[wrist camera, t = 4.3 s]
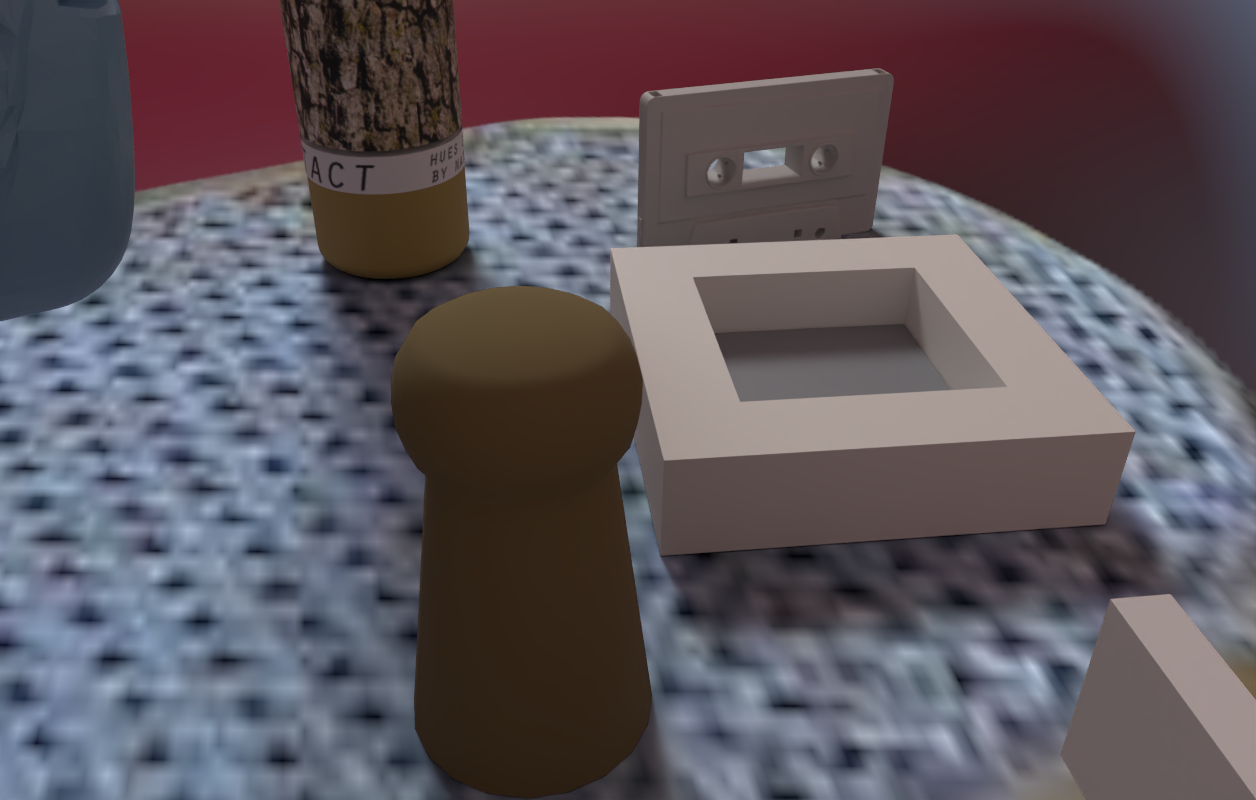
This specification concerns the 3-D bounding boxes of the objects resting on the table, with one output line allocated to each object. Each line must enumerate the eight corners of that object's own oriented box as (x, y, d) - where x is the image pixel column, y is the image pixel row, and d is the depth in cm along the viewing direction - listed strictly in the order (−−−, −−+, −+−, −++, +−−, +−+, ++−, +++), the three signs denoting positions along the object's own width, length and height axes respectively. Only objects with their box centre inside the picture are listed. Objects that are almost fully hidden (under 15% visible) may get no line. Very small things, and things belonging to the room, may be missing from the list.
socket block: (660, 555, 32) (664, 460, 30) (610, 327, 44) (610, 248, 42) (1105, 524, 34) (1135, 431, 32) (942, 311, 45) (957, 234, 43)
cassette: (646, 271, 48) (650, 101, 44) (631, 254, 50) (634, 88, 46) (878, 235, 52) (902, 76, 48) (858, 220, 53) (880, 64, 49)
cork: (612, 826, 24) (615, 423, 18) (370, 763, 26) (300, 368, 20) (677, 639, 29) (696, 273, 23) (470, 594, 31) (438, 237, 25)
